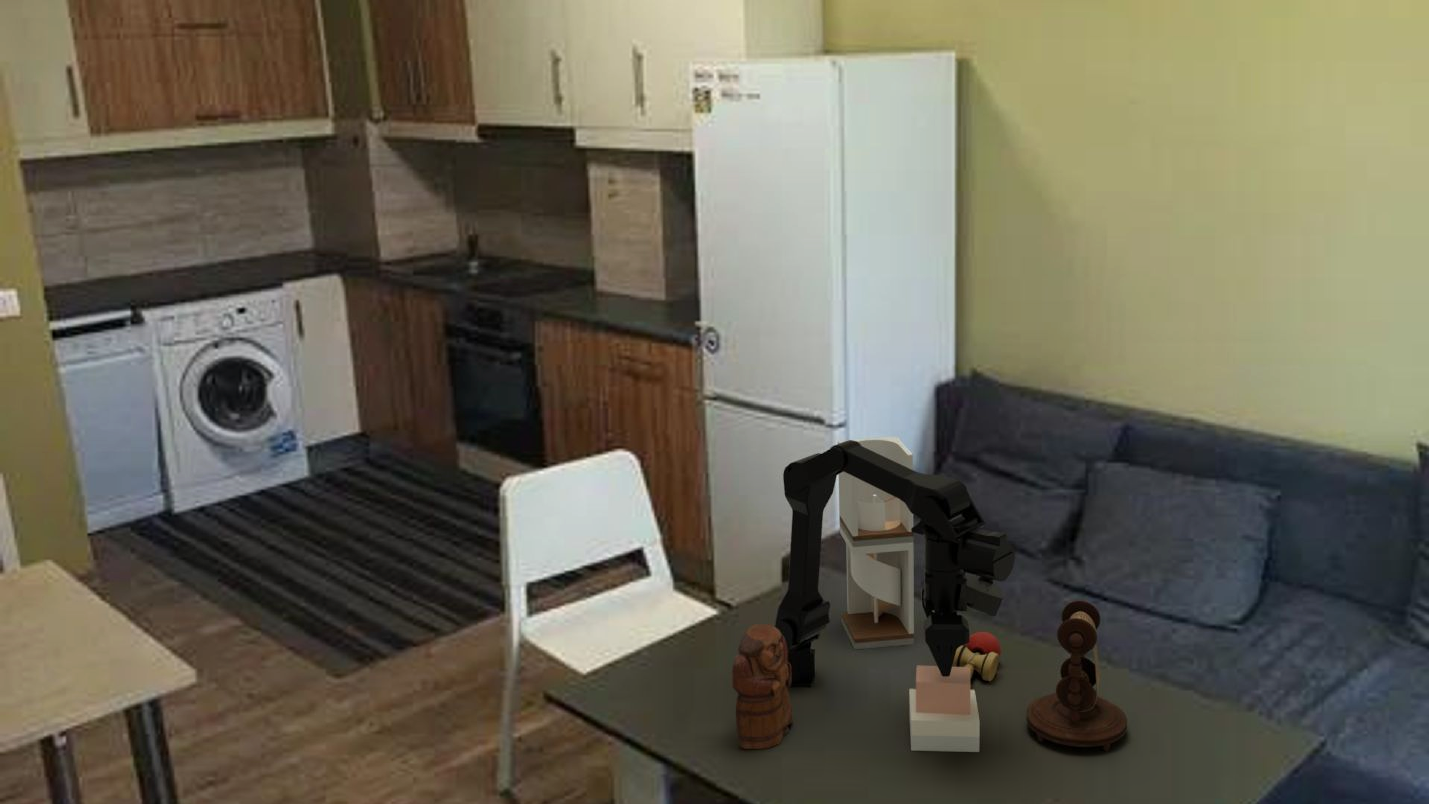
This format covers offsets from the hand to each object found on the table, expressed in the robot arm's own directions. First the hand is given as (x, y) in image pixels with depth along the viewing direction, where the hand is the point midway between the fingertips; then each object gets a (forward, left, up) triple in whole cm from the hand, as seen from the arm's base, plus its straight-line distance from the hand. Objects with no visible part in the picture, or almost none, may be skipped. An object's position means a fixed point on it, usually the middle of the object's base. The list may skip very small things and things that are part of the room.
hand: (944, 662), depth 193 cm
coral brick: (0, 0, -7) cm, 7 cm away
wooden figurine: (-27, -1, -12) cm, 30 cm away
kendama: (+5, +18, -13) cm, 23 cm away
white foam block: (0, 0, -12) cm, 12 cm away
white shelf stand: (-10, +36, -12) cm, 39 cm away
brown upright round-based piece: (+20, +2, -12) cm, 24 cm away
